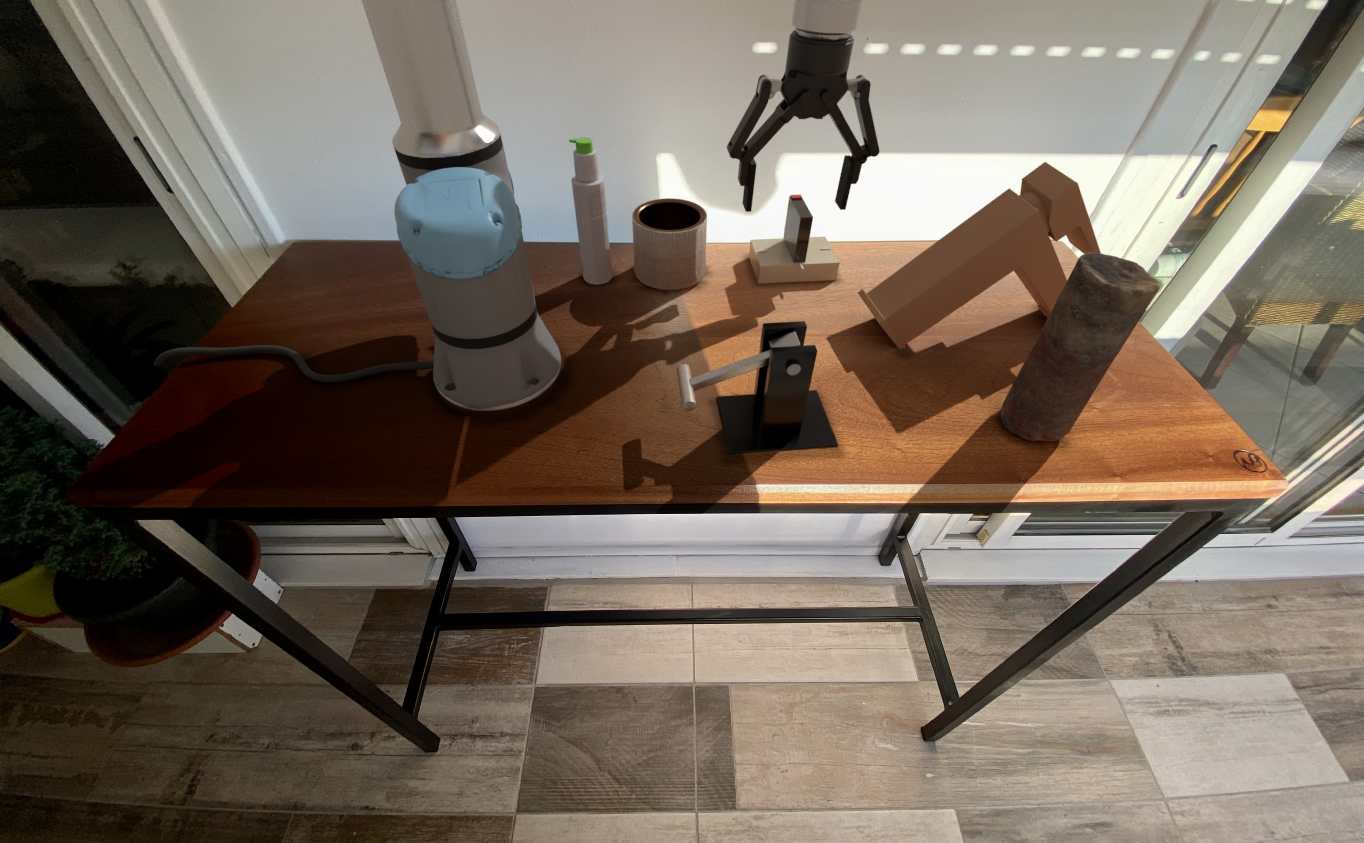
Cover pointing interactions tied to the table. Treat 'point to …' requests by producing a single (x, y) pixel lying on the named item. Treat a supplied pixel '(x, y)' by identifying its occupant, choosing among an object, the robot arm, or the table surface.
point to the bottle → (591, 214)
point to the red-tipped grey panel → (797, 228)
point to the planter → (669, 243)
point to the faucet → (988, 256)
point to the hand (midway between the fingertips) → (793, 206)
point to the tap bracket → (778, 401)
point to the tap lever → (726, 371)
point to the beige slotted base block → (779, 267)
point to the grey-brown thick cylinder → (1077, 345)
